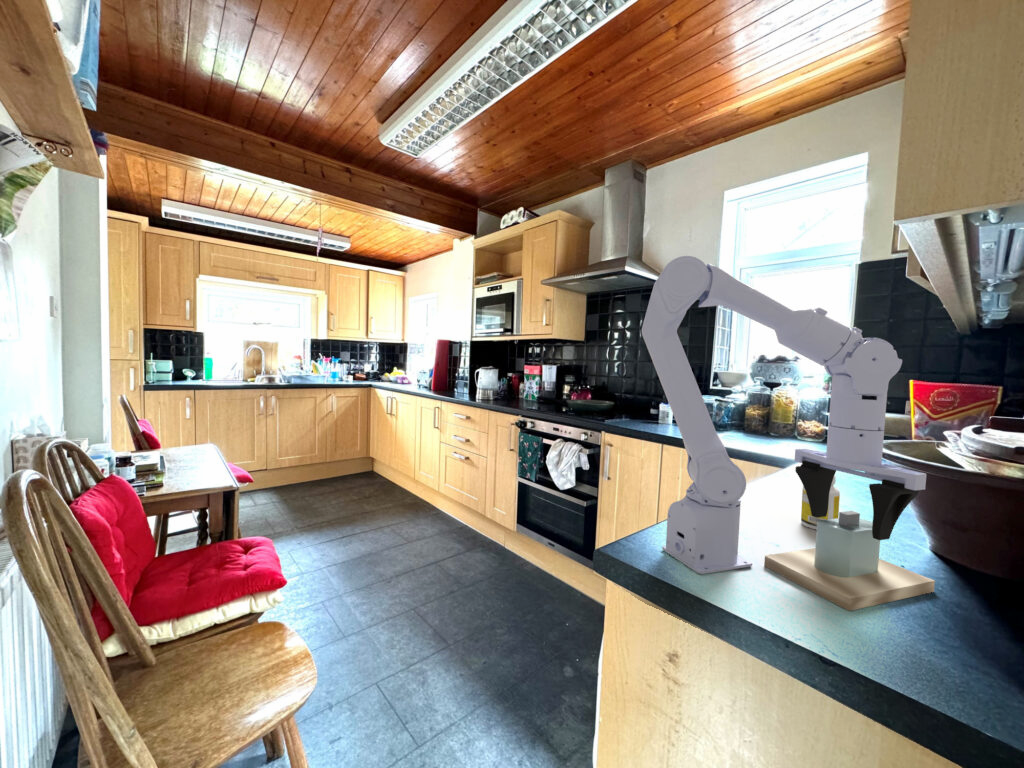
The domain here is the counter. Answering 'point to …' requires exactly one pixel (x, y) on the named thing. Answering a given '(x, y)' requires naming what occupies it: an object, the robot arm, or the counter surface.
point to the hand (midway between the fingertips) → (847, 526)
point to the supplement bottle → (831, 513)
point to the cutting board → (850, 581)
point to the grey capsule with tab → (846, 546)
